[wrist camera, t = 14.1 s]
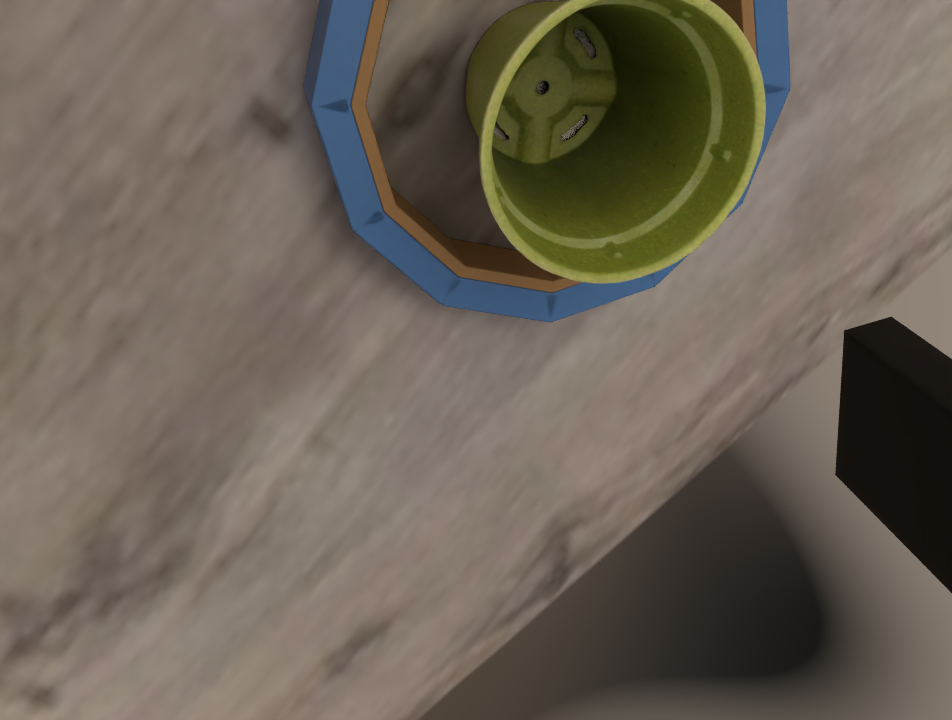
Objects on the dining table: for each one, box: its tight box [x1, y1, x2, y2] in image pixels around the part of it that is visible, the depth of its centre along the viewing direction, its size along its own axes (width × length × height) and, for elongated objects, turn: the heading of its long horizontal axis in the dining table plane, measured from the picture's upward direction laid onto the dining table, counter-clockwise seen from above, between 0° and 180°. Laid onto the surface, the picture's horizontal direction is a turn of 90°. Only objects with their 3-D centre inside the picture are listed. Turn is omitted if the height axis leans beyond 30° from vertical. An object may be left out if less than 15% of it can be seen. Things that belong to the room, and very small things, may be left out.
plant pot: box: [466, 0, 766, 284], centre depth 32 cm, size 9×9×9 cm
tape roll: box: [303, 0, 790, 322], centre depth 34 cm, size 18×18×3 cm
